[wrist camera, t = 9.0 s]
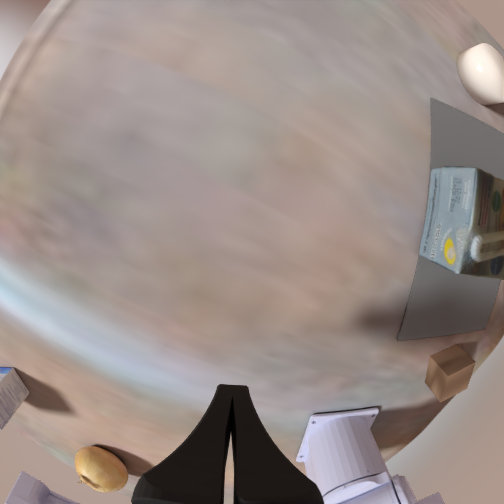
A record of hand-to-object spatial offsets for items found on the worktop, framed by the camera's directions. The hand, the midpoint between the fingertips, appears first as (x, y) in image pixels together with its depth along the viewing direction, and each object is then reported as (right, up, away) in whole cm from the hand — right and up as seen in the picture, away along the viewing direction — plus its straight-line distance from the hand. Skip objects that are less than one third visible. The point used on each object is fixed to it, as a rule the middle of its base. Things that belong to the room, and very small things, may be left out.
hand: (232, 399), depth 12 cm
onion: (-20, -22, +16) cm, 34 cm away
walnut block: (+22, -6, +12) cm, 26 cm away
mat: (+22, +9, +8) cm, 25 cm away
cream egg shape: (+23, +24, +4) cm, 34 cm away
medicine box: (-33, -11, +13) cm, 37 cm away
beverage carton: (+24, +9, +8) cm, 27 cm away
